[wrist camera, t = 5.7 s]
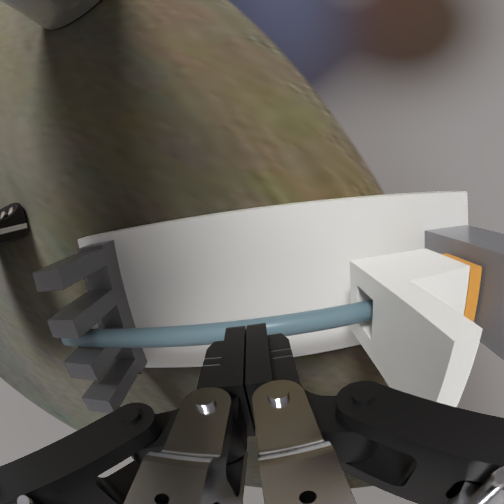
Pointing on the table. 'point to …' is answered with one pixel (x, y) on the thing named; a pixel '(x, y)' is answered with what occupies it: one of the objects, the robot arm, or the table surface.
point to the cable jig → (253, 281)
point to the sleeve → (417, 322)
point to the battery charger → (12, 223)
